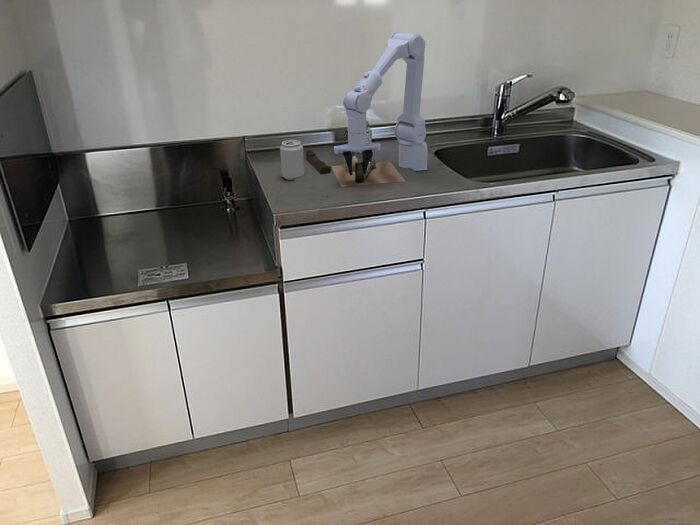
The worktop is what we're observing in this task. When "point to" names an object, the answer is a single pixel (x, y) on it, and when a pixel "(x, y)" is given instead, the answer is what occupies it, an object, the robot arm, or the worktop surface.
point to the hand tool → (317, 163)
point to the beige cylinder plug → (353, 164)
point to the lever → (360, 170)
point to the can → (292, 159)
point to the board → (376, 176)
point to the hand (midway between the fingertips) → (357, 173)
